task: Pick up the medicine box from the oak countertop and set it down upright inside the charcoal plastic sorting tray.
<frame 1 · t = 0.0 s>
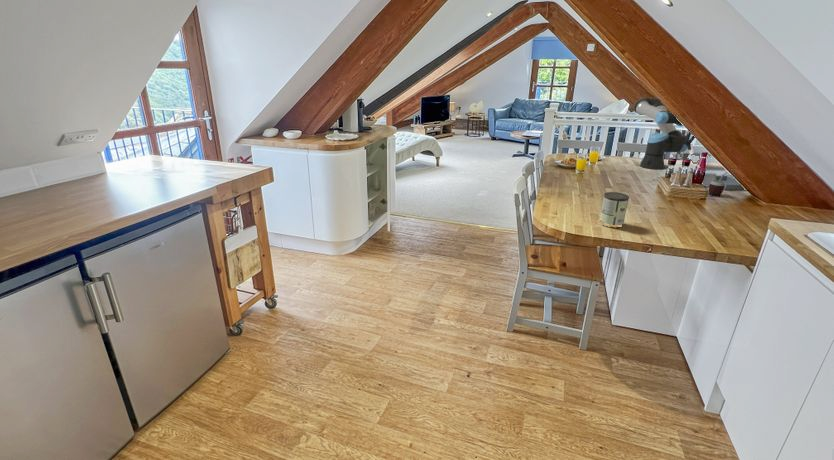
hand: (702, 154, 262), 15 cm above the breakfast bar, tool tilted 35°, fingers open, 13 cm apart
coffee can: (610, 224, 191), on the breakfast bar
mate gourd: (714, 196, 232), on the breakfast bar
sorting tray: (725, 185, 251), on the breakfast bar
medicine box: (703, 186, 249), on the breakfast bar
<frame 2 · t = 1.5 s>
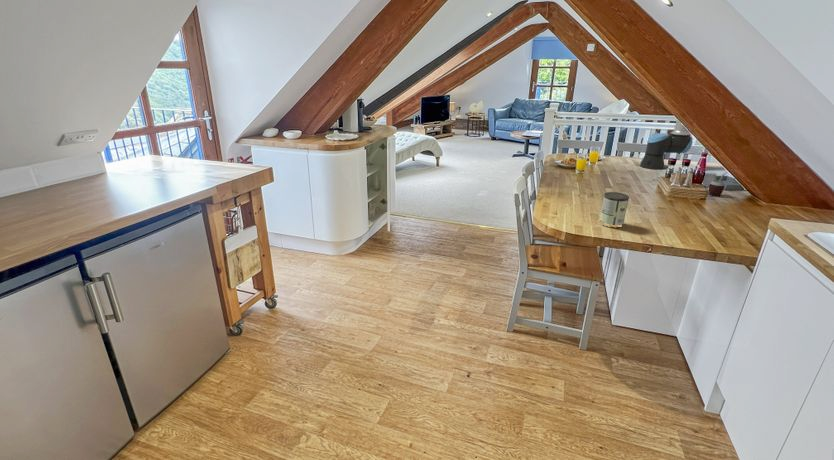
hand: (712, 155, 242), 19 cm above the breakfast bar, tool pointing down, fingers open, 13 cm apart
nothing on the breakfast bar moved.
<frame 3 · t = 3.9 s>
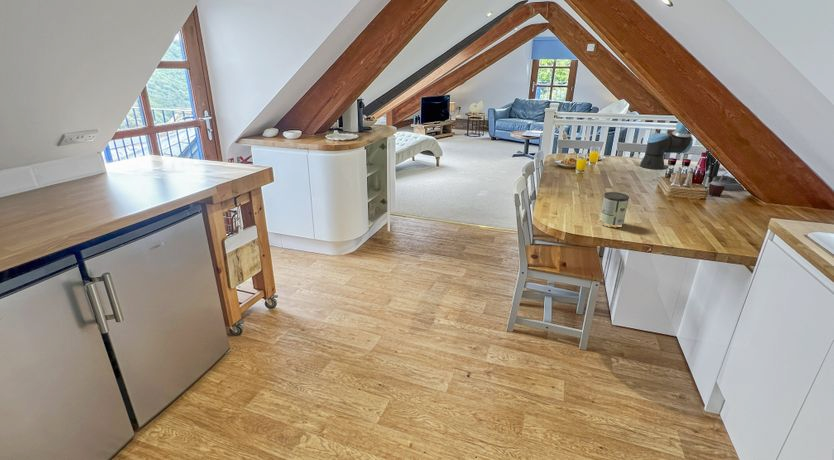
hand: (704, 186, 249), 0 cm above the breakfast bar, tool pointing down, fingers closed on medicine box, 5 cm apart
medicine box: (704, 186, 249), on the breakfast bar, touching gripper
everything else where it was.
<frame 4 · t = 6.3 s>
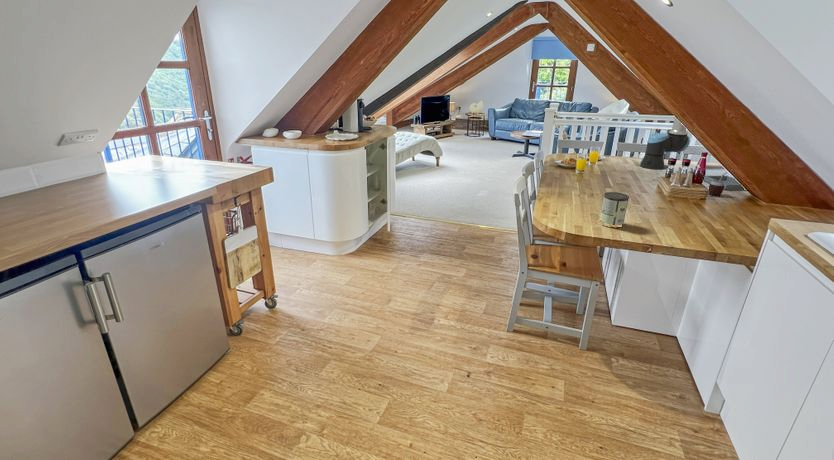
hand: (729, 161, 245), 15 cm above the breakfast bar, tool pointing down, fingers closed on medicine box, 5 cm apart
medicine box: (729, 162, 245), point 14 cm above the breakfast bar, touching gripper
everything else where it was.
when the fingers open (3 cm above the breakfast bar, at t = 9.0 s): medicine box drops 2 cm, resting on sorting tray.
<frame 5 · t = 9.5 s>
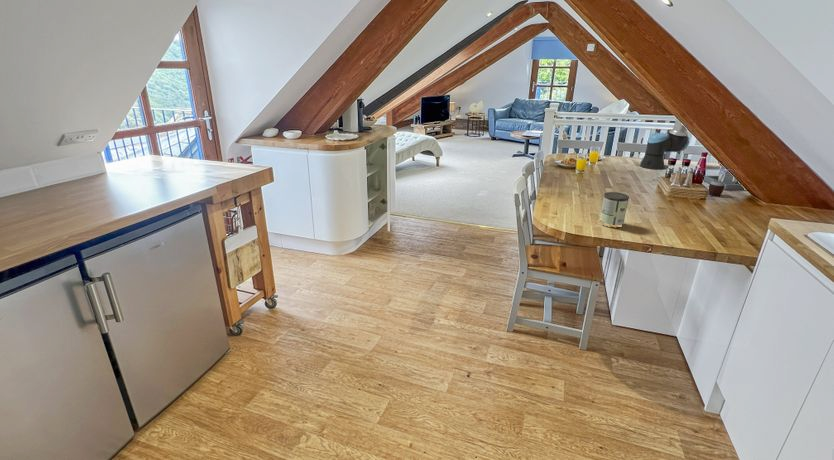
hand: (727, 178, 249), 4 cm above the breakfast bar, tool pointing down, fingers open, 12 cm apart
medicine box: (725, 184, 251), point 1 cm above the breakfast bar, touching sorting tray
everything else where it was.
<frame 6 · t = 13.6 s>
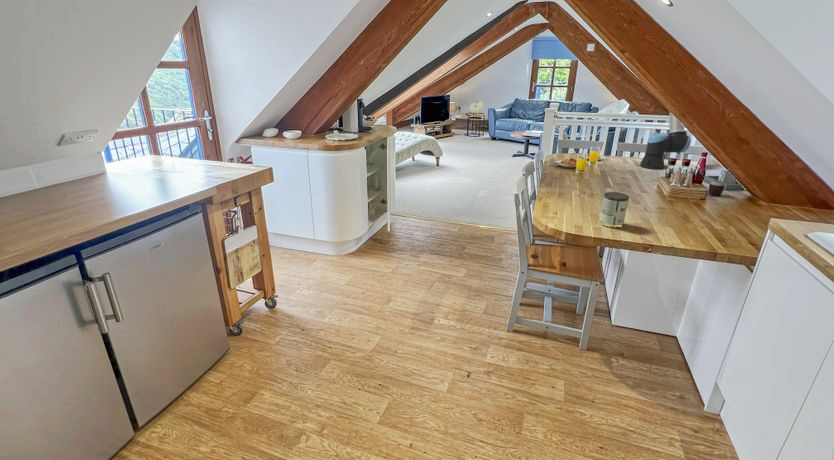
hand: (710, 130, 253), 31 cm above the breakfast bar, tool pointing down, fingers open, 13 cm apart
nothing on the breakfast bar moved.
at the end: medicine box inside the target area on the sorting tray (0.2 cm from its centre), point 0.6 cm above the sorting tray's base; medicine box tilted 0°; the gripper is holding nothing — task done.
